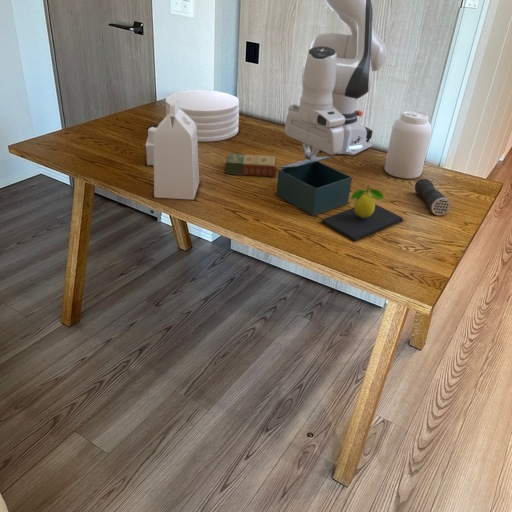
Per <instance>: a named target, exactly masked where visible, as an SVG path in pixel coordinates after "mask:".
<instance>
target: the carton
mask: <svg viewBox="0 0 512 512" xmlns="http://www.w3.org/2000/svg"><path fill="white" fill-rule="evenodd" d="M276 165H277V156H276V155H263V154H247V153H235V152H234V153H232V152H228V155H227V158H226V161H225V167H224V168H225V174H229V175H242V176H256V177H257V176H258V177H273V178H275V175H276V174H275V173H276Z"/></svg>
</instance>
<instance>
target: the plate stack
mask: <svg viewBox="0 0 512 512" xmlns="http://www.w3.org/2000/svg"><path fill="white" fill-rule="evenodd" d="M174 99H176V100H179V106H180V109H181V110H182V111H183V112H184V113H186V114H187V115H188V116H189V117H190V118H191V119H192V120H193V121H194V122H195V124H196V127H197V142H218V141H224V140H228V139H230V138H233V137H235V136H236V135H237V134H238V133H239V122H240V121H239V119H240V100H239V98H238V97H237V96H235V95H232V94H230V93H227V92H223V91H216V90H205V89H194V90H193V89H191V90H190V89H189V90H183V91H177V92H174V93H170V94H168V95H167V96H166V97H165V111H166V112H165V117H166V116H167V115H168V114H169V113H170V104H171V103H172V101H173V100H174Z"/></svg>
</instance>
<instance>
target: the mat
mask: <svg viewBox="0 0 512 512" xmlns="http://www.w3.org/2000/svg"><path fill="white" fill-rule="evenodd" d="M401 222H403V217H402V216H400V215H398V214H397V213H394V212H392V211H390V210H388V209H386V208H384V207H382V206H379V204H376V203H375V210H374V212H373V214H372V215H371V216H370V217H367V218H361V217H359V216H358V215H356V213H355V211H354V207H352V208H348V209H347V210H343V211H341V212H338V213H336V214H333V215H330V216H328V217H325V218H323V219H321V224H323V225H325V226H326V227H328V228H330V229H332V230H334V231H335V232H337V233H339V234H340V235H342V236H344V237H346V238H347V239H349V240H351V241H353V242H357V241H359V240H361V239H364V238H366V237H368V236H371V235H372V234H375V233H377V232H380V231H382V230H384V229H387V228H389V227H392V226H393V225H396V224H398V223H401Z"/></svg>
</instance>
